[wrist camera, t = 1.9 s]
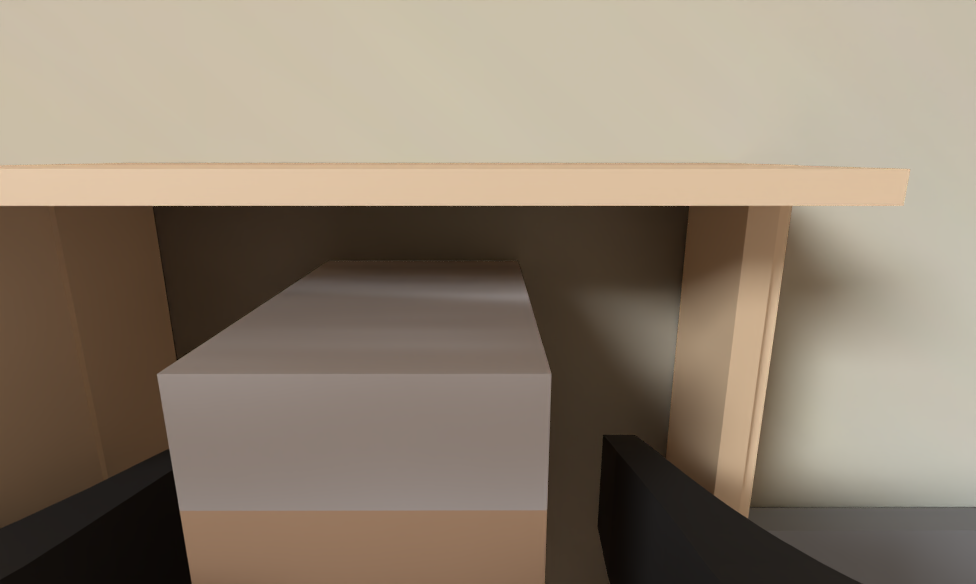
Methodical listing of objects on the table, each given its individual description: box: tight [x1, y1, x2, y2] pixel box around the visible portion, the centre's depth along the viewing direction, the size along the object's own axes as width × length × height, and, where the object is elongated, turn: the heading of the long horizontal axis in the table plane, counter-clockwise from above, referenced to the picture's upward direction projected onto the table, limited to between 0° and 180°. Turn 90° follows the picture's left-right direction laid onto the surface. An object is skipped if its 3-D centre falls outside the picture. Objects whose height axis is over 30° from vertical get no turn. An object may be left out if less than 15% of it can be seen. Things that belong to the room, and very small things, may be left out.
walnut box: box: [157, 261, 551, 584], centre depth 9 cm, size 8×4×6 cm, turn 0°
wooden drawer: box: [0, 163, 910, 528], centre depth 10 cm, size 12×12×5 cm
